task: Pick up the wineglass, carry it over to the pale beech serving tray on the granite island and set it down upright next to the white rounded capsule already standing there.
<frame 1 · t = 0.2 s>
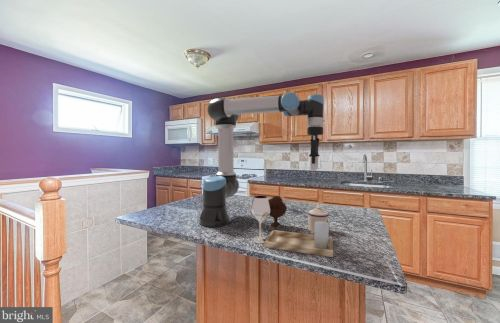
hand: (314, 169, 111), 28 cm above the countertop, fingers open, 13 cm apart
ice cream bowl: (275, 225, 111), on the countertop
tray: (299, 247, 85), on the countertop
wineglass: (260, 240, 92), on the countertop
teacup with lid: (317, 231, 104), on the countertop
white rounded capsule: (321, 247, 83), point 1 cm above the countertop, touching tray
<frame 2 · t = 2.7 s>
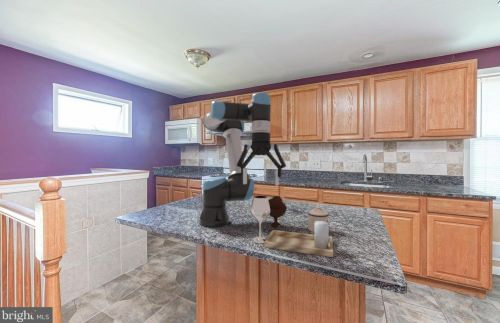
hand: (260, 184, 91), 23 cm above the countertop, fingers open, 13 cm apart
nothing on the countertop moved.
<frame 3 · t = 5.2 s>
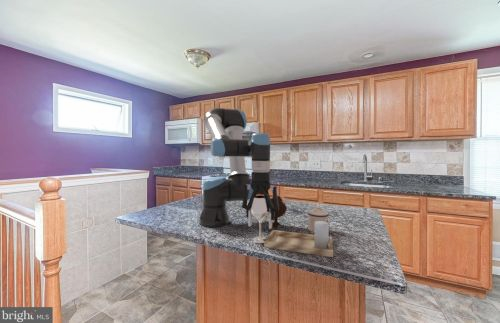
hand: (260, 226, 92), 6 cm above the countertop, fingers closed on wineglass, 8 cm apart
wineglass: (260, 240, 92), on the countertop, touching gripper
everything else where it was.
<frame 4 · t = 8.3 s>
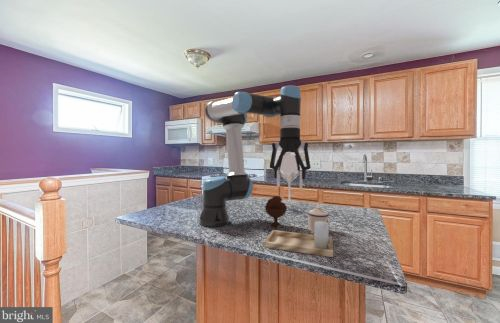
hand: (289, 187, 86), 23 cm above the countertop, fingers closed on wineglass, 8 cm apart
wineglass: (289, 202, 86), point 17 cm above the countertop, touching gripper
everything else where it was.
when the fingers open (8 cm above the countertop, at t = 11.7 s): wineglass stays where it is, resting on tray.
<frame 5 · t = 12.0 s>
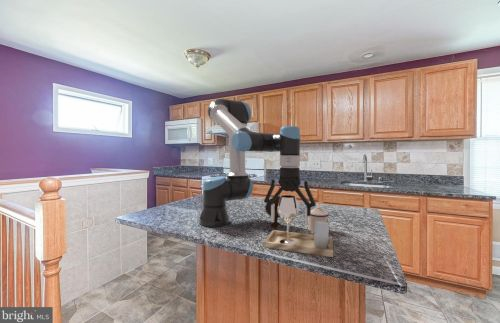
hand: (288, 222, 86), 9 cm above the countertop, fingers open, 12 cm apart
wineglass: (287, 243, 87), point 1 cm above the countertop, touching tray
everything else where it was.
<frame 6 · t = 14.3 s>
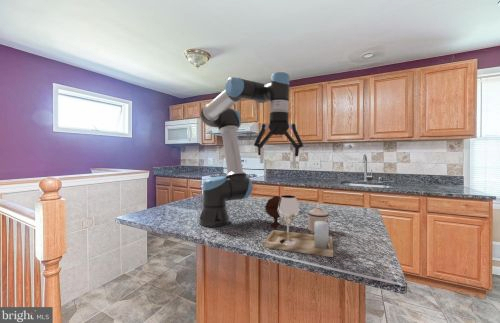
hand: (277, 163, 93), 31 cm above the countertop, fingers open, 13 cm apart
nothing on the countertop moved.
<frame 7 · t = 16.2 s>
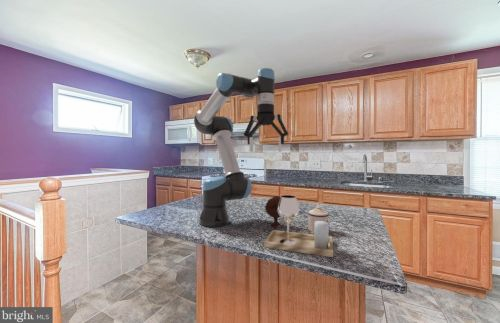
hand: (265, 151, 101), 37 cm above the countertop, fingers open, 13 cm apart
nothing on the countertop moved.
at the end: wineglass inside the target area on the tray (4.3 cm from its centre), point 1.0 cm above the tray's base; wineglass tilted 0°; the gripper is holding nothing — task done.
